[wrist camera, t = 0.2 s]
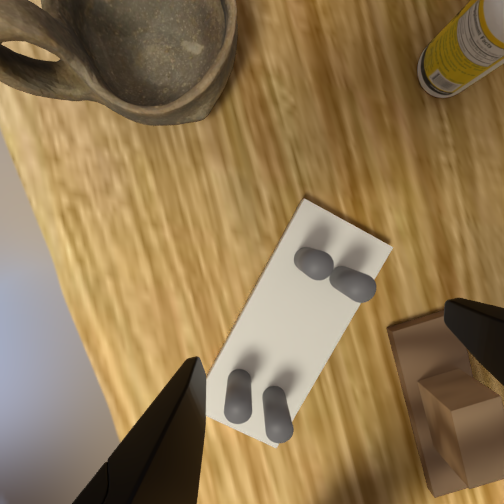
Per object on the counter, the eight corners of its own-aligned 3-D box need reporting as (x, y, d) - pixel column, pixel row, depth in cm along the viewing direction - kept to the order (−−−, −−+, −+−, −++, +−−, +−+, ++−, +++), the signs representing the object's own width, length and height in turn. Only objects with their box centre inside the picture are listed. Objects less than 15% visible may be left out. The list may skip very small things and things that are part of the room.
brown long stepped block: (482, 465, 27) (541, 525, 21) (424, 482, 27) (469, 547, 22) (445, 306, 25) (501, 328, 19) (383, 325, 25) (421, 353, 20)
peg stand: (275, 439, 25) (282, 491, 20) (192, 401, 25) (179, 445, 20) (386, 246, 24) (424, 251, 19) (301, 199, 23) (317, 191, 18)
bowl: (267, 102, 22) (285, -2, 12) (104, 183, 22) (-10, 146, 12) (202, -46, 21) (161, -300, 11) (28, 43, 21) (-167, -125, 11)
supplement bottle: (466, 33, 22) (645, -125, 12) (473, 93, 22) (648, -12, 13) (410, 45, 22) (544, -104, 12) (418, 105, 22) (552, 8, 13)
